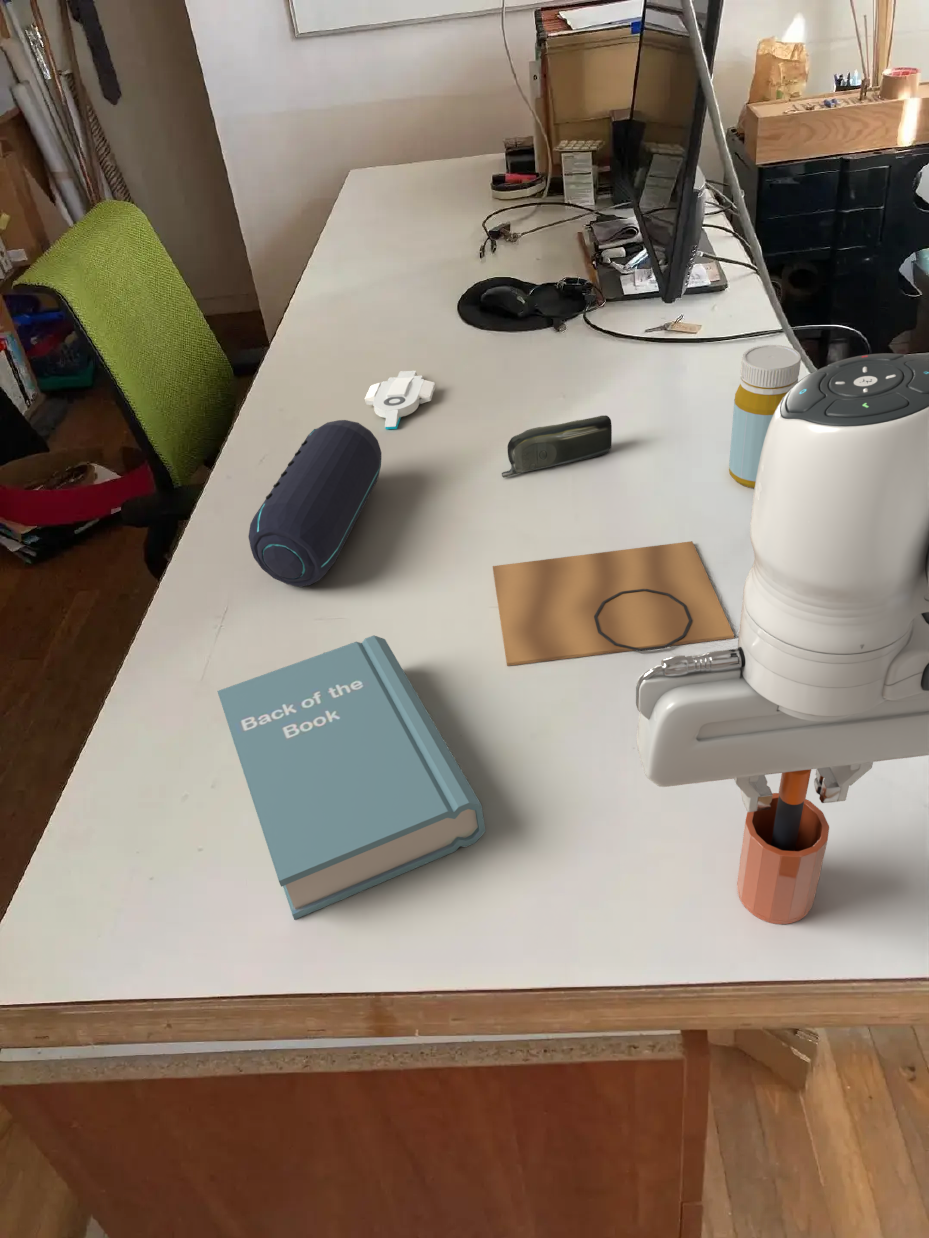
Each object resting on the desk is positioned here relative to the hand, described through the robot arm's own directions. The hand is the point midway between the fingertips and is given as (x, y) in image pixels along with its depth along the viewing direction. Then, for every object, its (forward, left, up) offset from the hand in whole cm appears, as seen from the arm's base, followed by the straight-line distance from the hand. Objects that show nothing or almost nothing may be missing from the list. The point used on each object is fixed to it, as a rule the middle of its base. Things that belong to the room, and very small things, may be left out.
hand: (791, 798), depth 61 cm
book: (+32, -16, -11) cm, 37 cm away
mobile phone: (+7, -65, -11) cm, 66 cm away
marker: (0, 0, -10) cm, 10 cm away
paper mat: (+6, -36, -11) cm, 38 cm away
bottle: (-16, -56, -11) cm, 59 cm away
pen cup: (0, 0, -11) cm, 11 cm away
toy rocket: (+27, -87, -11) cm, 92 cm away
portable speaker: (+36, -55, -11) cm, 66 cm away
